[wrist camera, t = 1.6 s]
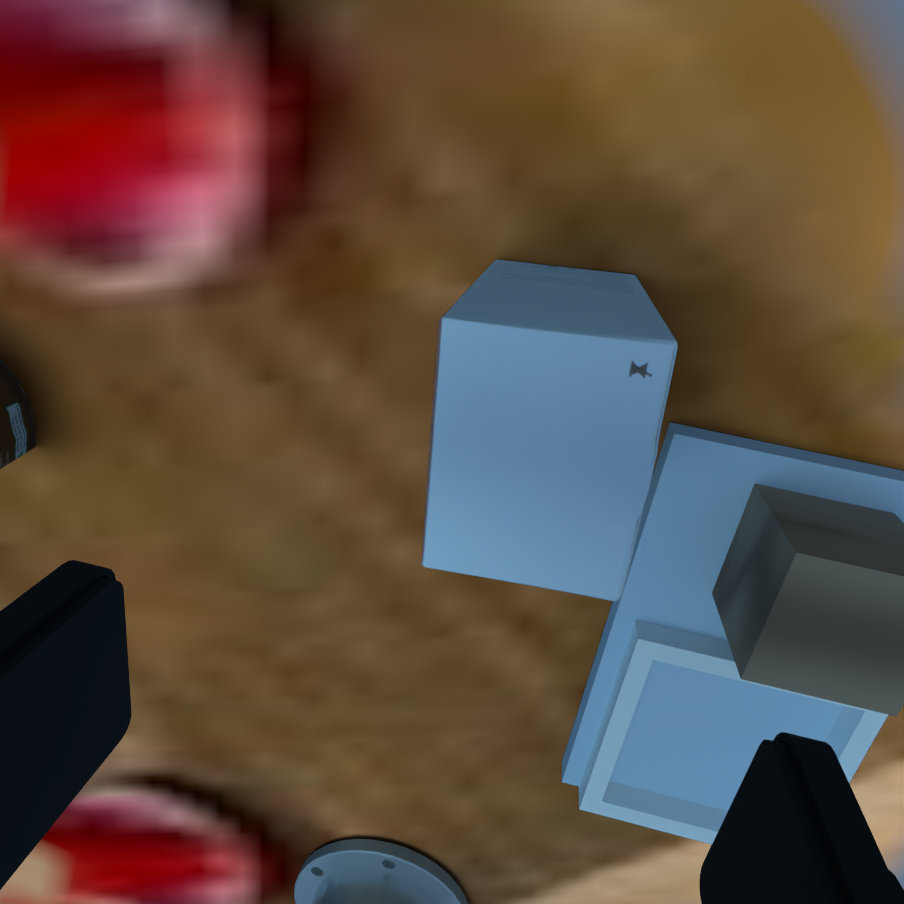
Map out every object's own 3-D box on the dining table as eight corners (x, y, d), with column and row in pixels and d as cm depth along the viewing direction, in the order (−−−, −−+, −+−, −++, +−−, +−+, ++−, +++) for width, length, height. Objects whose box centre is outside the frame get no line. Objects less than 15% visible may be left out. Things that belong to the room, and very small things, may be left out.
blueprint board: (801, 823, 38) (819, 872, 35) (562, 760, 39) (561, 804, 36) (986, 488, 29) (1029, 519, 26) (669, 422, 30) (679, 446, 28)
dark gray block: (839, 622, 31) (896, 716, 26) (711, 592, 32) (740, 679, 26) (893, 512, 29) (969, 591, 23) (754, 483, 29) (796, 552, 24)
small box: (492, 257, 29) (436, 309, 17) (639, 272, 28) (687, 338, 16) (475, 427, 32) (417, 572, 20) (606, 446, 31) (626, 607, 19)
